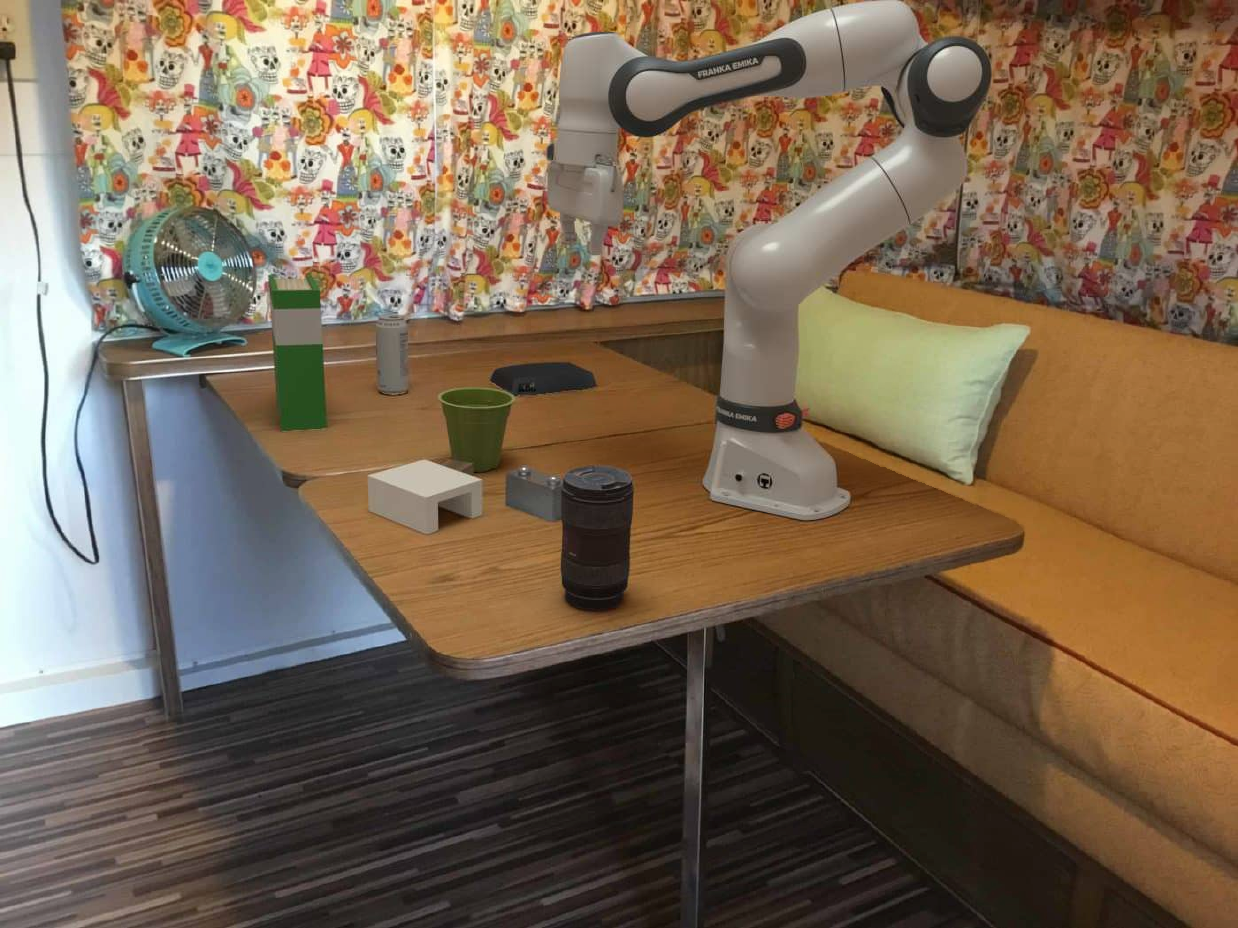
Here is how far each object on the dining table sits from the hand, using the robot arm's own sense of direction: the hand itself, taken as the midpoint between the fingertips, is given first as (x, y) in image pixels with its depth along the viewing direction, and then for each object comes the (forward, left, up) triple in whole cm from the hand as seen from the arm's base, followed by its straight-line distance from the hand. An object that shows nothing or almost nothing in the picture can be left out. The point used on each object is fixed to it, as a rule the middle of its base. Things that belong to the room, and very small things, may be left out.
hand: (581, 249), depth 152 cm
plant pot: (+11, +11, -34) cm, 38 cm away
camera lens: (-33, +34, -34) cm, 58 cm away
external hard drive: (+39, -34, -35) cm, 62 cm away
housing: (-9, +18, -34) cm, 40 cm away
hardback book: (+52, +15, -34) cm, 64 cm away
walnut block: (+5, +21, -34) cm, 40 cm away
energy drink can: (+55, -8, -34) cm, 65 cm away
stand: (+1, +30, -34) cm, 45 cm away
